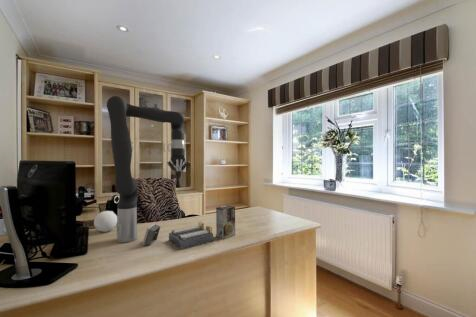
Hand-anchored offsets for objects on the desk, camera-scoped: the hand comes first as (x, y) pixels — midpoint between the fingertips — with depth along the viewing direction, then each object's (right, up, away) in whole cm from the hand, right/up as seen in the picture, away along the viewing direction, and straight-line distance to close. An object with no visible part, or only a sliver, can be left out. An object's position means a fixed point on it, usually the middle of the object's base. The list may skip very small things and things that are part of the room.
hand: (178, 177), depth 133 cm
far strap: (+7, -28, -9) cm, 30 cm away
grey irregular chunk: (-10, -32, -15) cm, 37 cm away
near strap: (+13, -28, -16) cm, 35 cm away
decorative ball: (-44, -32, +3) cm, 54 cm away
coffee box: (+28, -32, -5) cm, 43 cm away
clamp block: (+10, -32, -13) cm, 36 cm away
